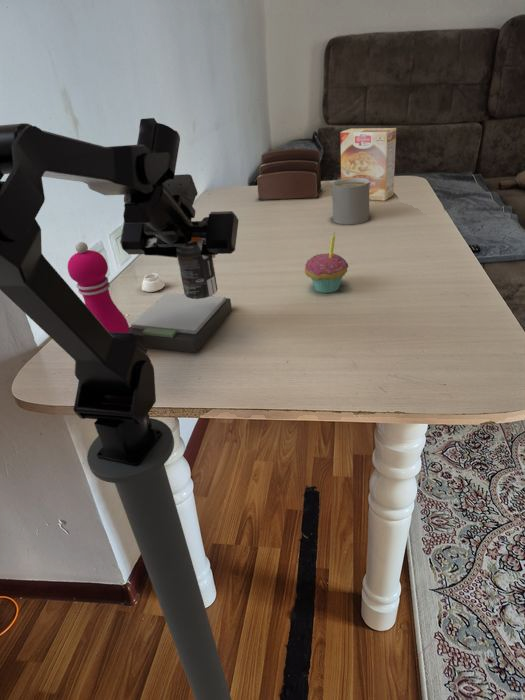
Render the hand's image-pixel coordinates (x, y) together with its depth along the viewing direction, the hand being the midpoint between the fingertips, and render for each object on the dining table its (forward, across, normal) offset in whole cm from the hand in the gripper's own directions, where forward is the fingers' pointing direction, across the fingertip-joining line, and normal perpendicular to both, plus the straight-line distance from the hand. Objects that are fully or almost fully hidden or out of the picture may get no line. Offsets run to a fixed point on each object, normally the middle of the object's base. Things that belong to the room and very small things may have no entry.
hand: (197, 255), depth 84 cm
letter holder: (+71, +2, -54) cm, 89 cm away
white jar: (+20, +18, -1) cm, 27 cm away
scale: (+8, +5, +11) cm, 14 cm away
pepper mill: (-6, +14, +11) cm, 19 cm away
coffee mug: (+53, -21, -35) cm, 67 cm away
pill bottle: (+4, 0, +6) cm, 7 cm away
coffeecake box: (+68, -24, -50) cm, 88 cm away
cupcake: (+20, -20, -2) cm, 29 cm away
